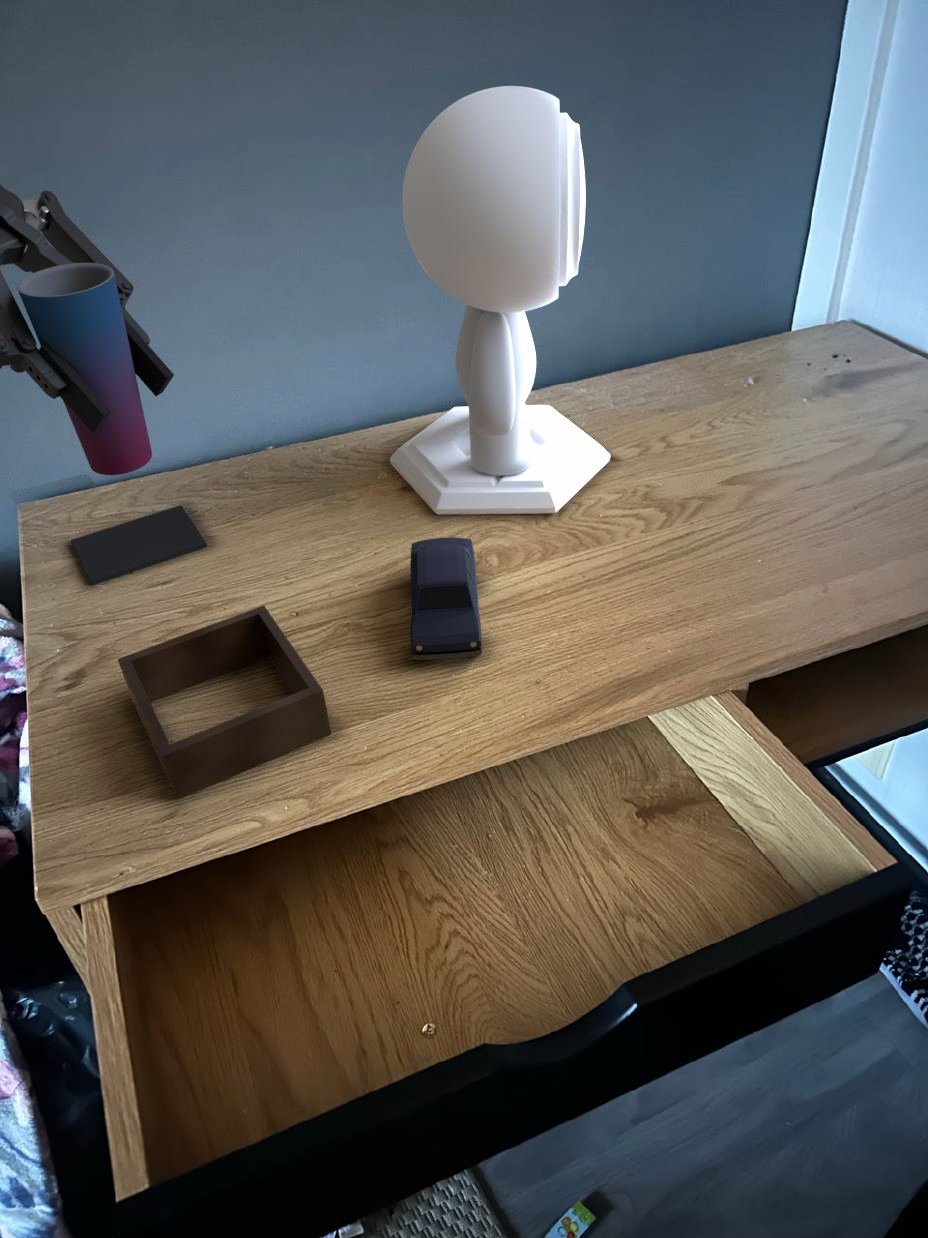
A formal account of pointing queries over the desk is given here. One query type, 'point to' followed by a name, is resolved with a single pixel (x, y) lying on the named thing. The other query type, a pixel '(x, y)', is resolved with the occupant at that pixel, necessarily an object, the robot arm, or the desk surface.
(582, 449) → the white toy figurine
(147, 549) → the mat
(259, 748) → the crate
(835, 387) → the desk surface
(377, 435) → the desk surface
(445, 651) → the toy car
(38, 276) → the cup
